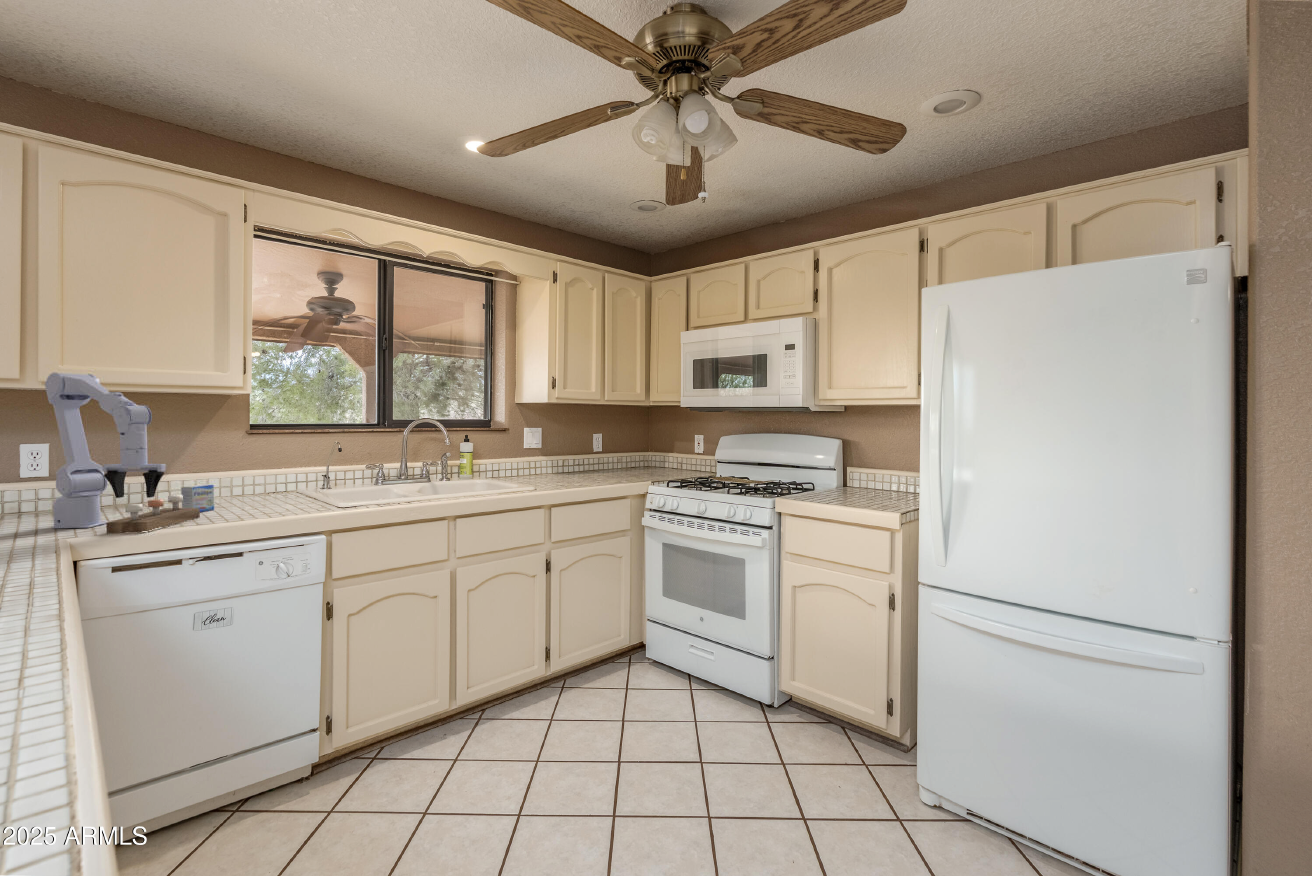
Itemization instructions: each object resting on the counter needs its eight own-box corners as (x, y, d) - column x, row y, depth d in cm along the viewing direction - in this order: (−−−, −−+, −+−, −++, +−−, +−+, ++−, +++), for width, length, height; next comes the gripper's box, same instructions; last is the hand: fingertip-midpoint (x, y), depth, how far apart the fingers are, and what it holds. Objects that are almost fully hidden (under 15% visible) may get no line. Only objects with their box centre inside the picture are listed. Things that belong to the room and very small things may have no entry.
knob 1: (122, 522, 167) (122, 506, 167) (131, 519, 171) (131, 504, 171) (137, 522, 168) (136, 505, 168) (146, 519, 171) (145, 503, 171)
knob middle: (145, 516, 176) (144, 501, 176) (153, 514, 180) (153, 499, 180) (158, 516, 177) (158, 501, 177) (166, 514, 180) (166, 499, 180)
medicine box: (192, 513, 198) (192, 487, 197) (181, 513, 198) (180, 486, 198) (214, 509, 205) (214, 484, 205) (203, 509, 206) (203, 483, 206)
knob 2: (165, 511, 185) (165, 496, 185) (173, 509, 189) (172, 495, 189) (178, 511, 186) (178, 496, 185) (185, 509, 189) (185, 494, 189)
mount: (106, 533, 166) (106, 522, 166) (164, 517, 190) (164, 508, 189) (147, 532, 167) (146, 521, 167) (199, 517, 191) (199, 507, 191)
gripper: (93, 449, 164) (95, 499, 164) (153, 449, 166) (155, 499, 167) (112, 448, 171) (113, 496, 171) (169, 448, 173) (171, 495, 174)
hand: (135, 497), depth 169 cm, fingers open, 7 cm apart
